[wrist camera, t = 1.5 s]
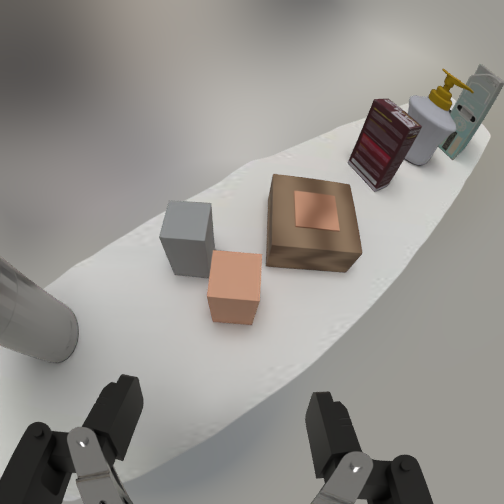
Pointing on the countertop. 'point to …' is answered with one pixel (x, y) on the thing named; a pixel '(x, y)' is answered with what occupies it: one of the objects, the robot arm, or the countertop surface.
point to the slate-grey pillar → (188, 238)
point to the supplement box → (383, 143)
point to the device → (471, 109)
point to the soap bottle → (432, 120)
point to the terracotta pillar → (234, 286)
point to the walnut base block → (311, 225)
